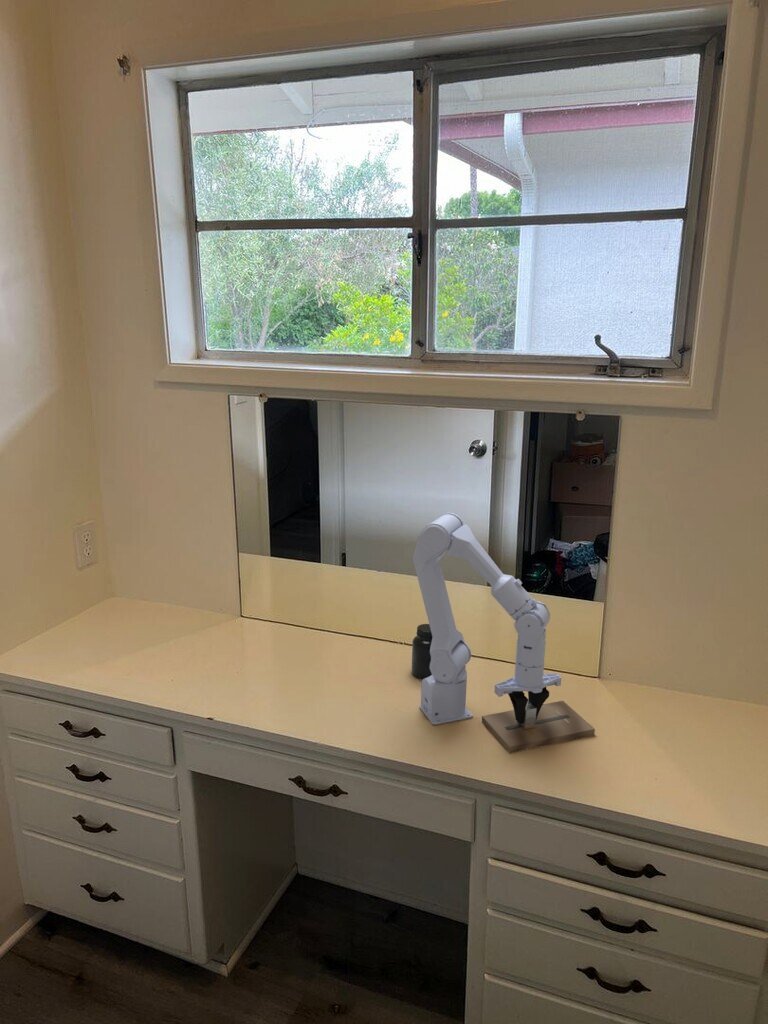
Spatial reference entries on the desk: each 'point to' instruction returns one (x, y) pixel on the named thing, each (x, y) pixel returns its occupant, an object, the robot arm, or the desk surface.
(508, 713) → the console board
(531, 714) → the fader tab
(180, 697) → the desk surface
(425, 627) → the supplement bottle
